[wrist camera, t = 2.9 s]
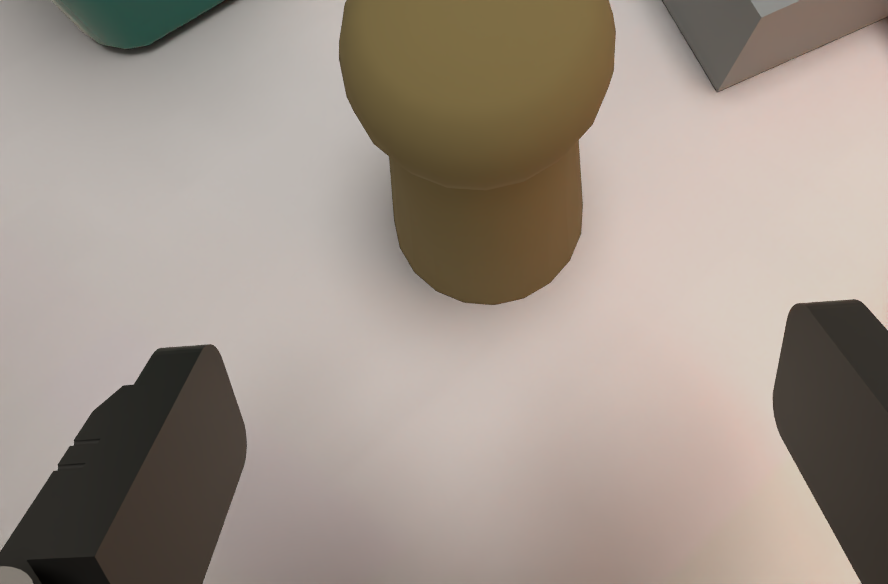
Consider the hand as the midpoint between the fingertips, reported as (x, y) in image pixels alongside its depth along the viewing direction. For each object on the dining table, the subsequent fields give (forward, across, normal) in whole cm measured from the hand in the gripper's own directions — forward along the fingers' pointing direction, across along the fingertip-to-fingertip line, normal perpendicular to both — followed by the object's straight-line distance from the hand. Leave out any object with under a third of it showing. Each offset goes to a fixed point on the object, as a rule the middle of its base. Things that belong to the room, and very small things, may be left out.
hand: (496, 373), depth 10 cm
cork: (+13, 0, +4) cm, 13 cm away
